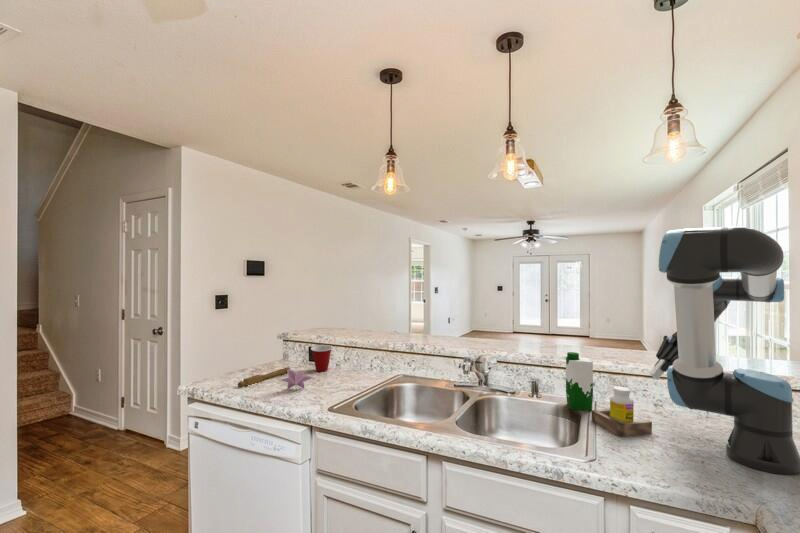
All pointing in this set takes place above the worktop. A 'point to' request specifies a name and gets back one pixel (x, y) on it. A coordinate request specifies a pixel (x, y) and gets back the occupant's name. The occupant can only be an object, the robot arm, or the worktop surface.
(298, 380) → the lily
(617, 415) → the supplement bottle
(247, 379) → the tap handle
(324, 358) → the plastic cup
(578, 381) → the milk carton
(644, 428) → the walnut dock
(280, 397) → the worktop surface
